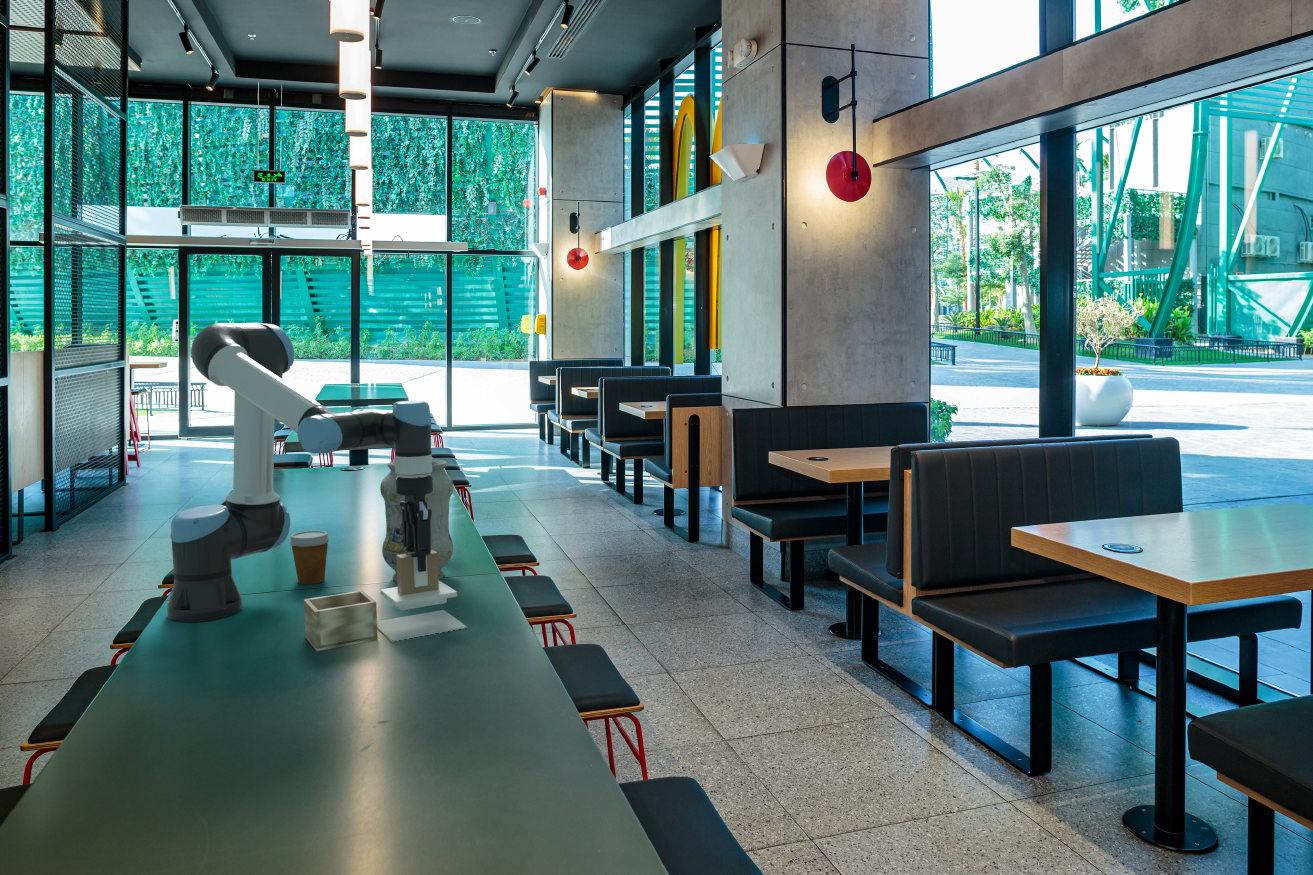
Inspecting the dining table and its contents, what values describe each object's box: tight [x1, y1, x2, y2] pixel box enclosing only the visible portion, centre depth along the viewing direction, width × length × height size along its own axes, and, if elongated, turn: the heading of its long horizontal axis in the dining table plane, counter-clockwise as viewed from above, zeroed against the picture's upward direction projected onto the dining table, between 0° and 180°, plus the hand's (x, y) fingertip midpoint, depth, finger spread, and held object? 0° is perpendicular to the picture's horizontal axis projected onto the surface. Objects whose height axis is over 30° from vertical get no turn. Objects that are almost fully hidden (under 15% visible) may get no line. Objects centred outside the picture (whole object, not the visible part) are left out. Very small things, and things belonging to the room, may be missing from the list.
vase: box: [379, 459, 454, 583], centre depth 234 cm, size 18×18×30 cm
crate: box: [303, 589, 379, 652], centre depth 188 cm, size 12×10×8 cm
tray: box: [377, 609, 468, 643], centre depth 197 cm, size 16×14×1 cm
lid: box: [379, 550, 458, 611], centre depth 195 cm, size 13×11×10 cm
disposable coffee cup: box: [288, 530, 331, 585], centre depth 232 cm, size 10×10×12 cm
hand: (418, 583), depth 195 cm, fingers closed on lid, 3 cm apart
